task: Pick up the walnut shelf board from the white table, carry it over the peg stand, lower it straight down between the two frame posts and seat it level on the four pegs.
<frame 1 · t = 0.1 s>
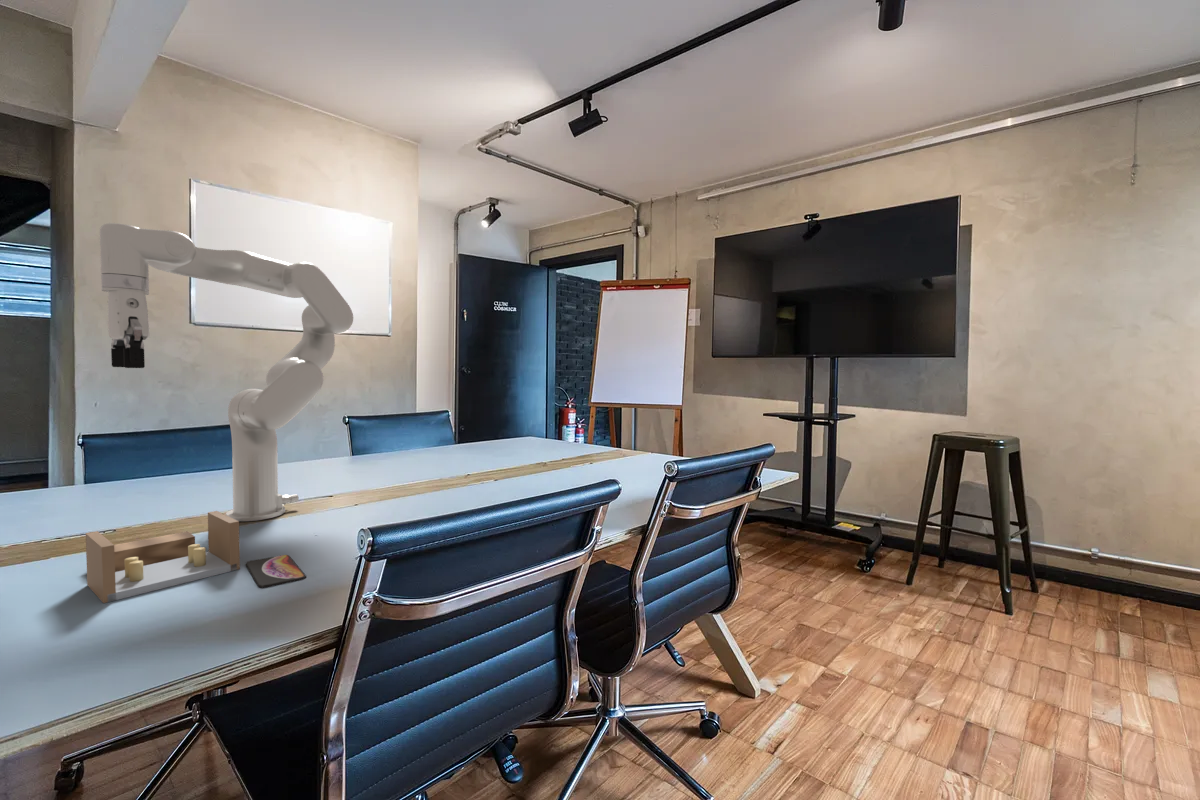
hand: (127, 367, 114), 37 cm above the table, tool pointing down, fingers open, 9 cm apart
smartphone: (275, 573, 100), on the table
peg stand: (167, 576, 96), on the table
shelf board: (147, 562, 103), on the table
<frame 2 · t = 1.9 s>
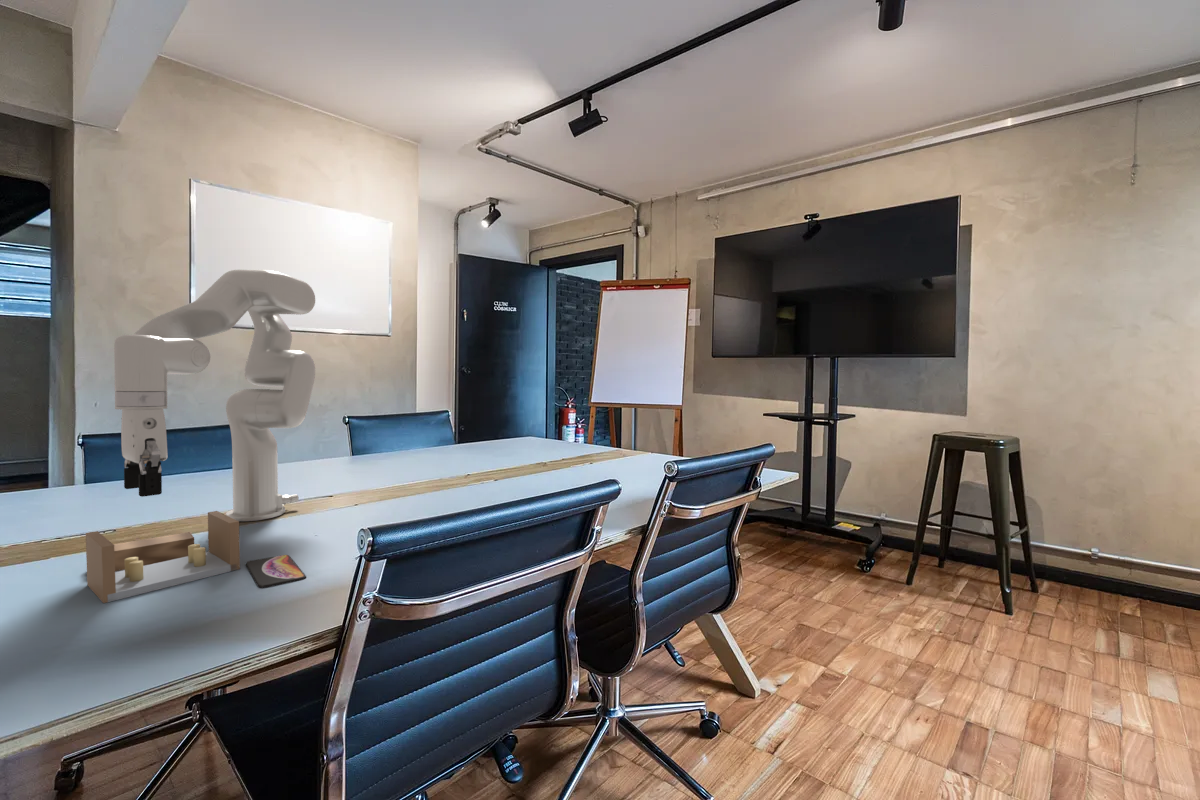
hand: (142, 491, 102), 14 cm above the table, tool pointing down, fingers open, 9 cm apart
nothing on the table moved.
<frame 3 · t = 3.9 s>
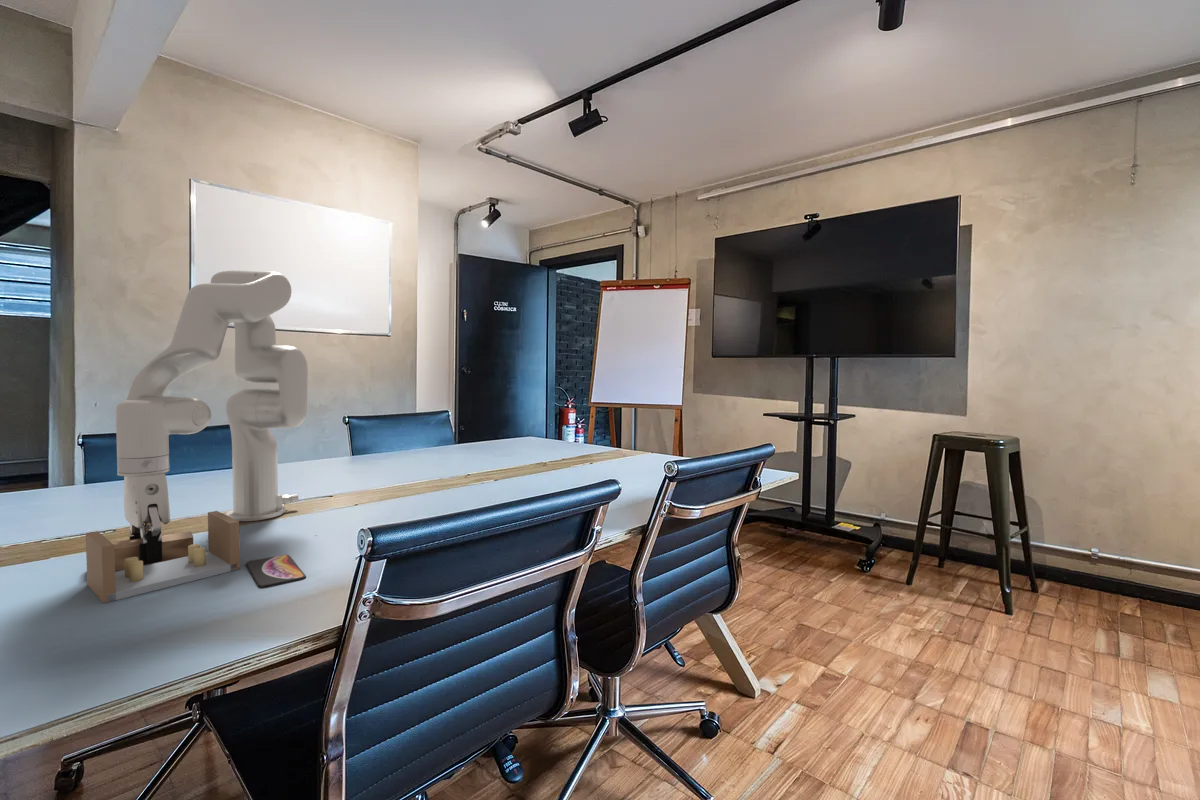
hand: (146, 557, 103), 1 cm above the table, tool pointing down, fingers closed on shelf board, 5 cm apart
shelf board: (146, 561, 103), on the table, touching gripper
everything else where it was.
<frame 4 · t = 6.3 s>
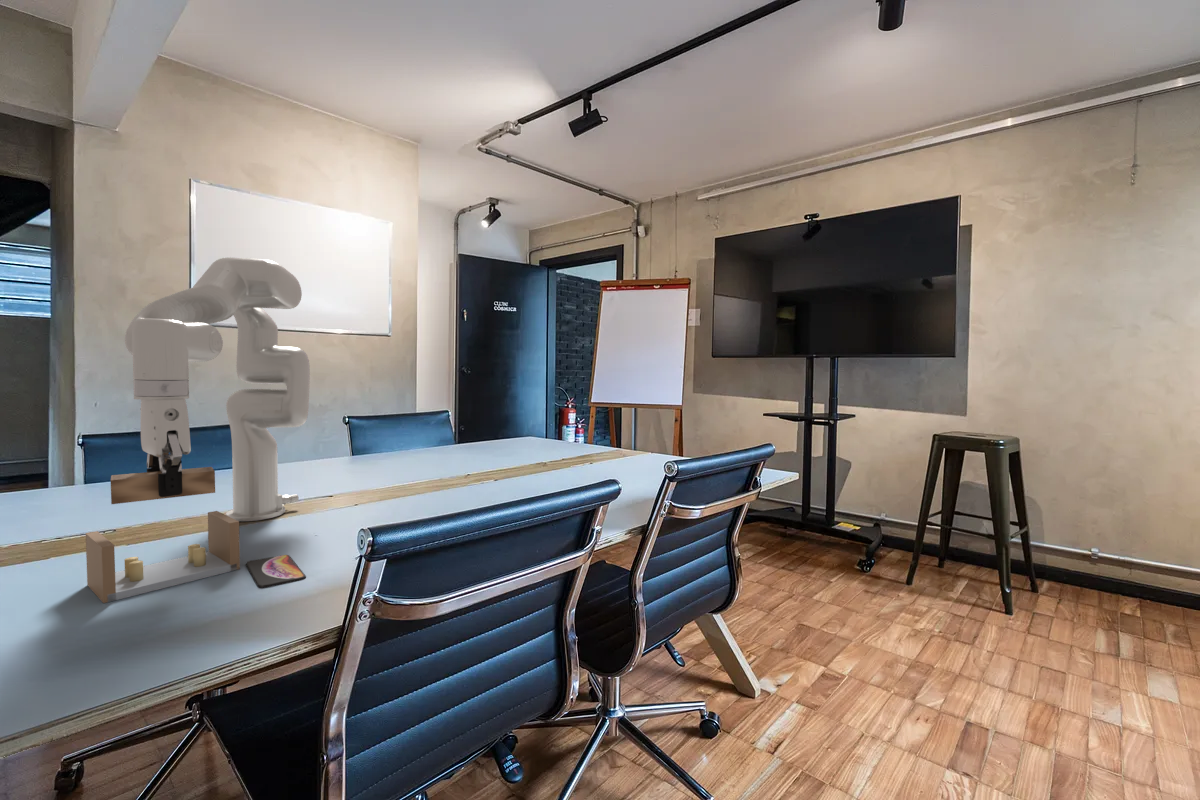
hand: (164, 491, 95), 15 cm above the table, tool pointing down, fingers closed on shelf board, 5 cm apart
shelf board: (165, 495, 95), point 15 cm above the table, touching gripper
everything else where it was.
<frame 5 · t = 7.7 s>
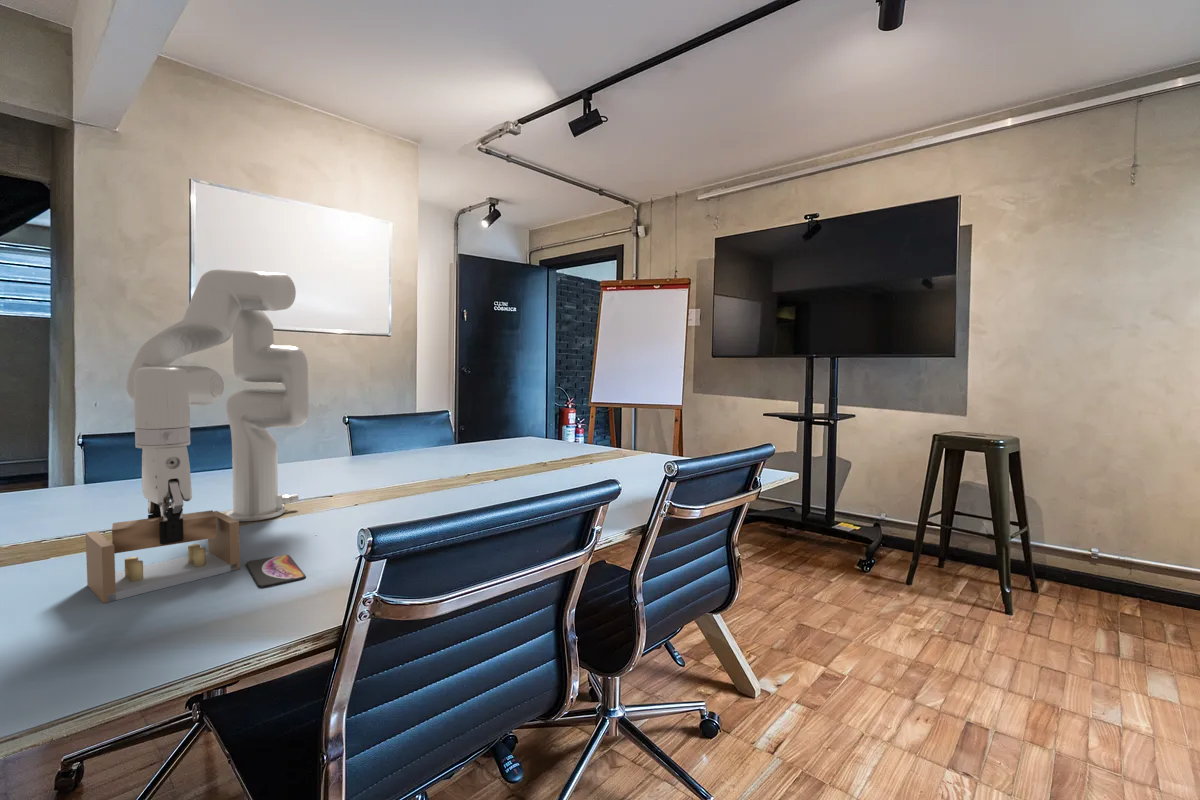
hand: (165, 537, 96), 7 cm above the table, tool pointing down, fingers closed on shelf board, 5 cm apart
shelf board: (166, 541, 96), point 6 cm above the table, touching gripper
everything else where it was.
when the fingers open (6 cm above the table, at t = 8.7 s): shelf board drops 1 cm, resting on peg stand.
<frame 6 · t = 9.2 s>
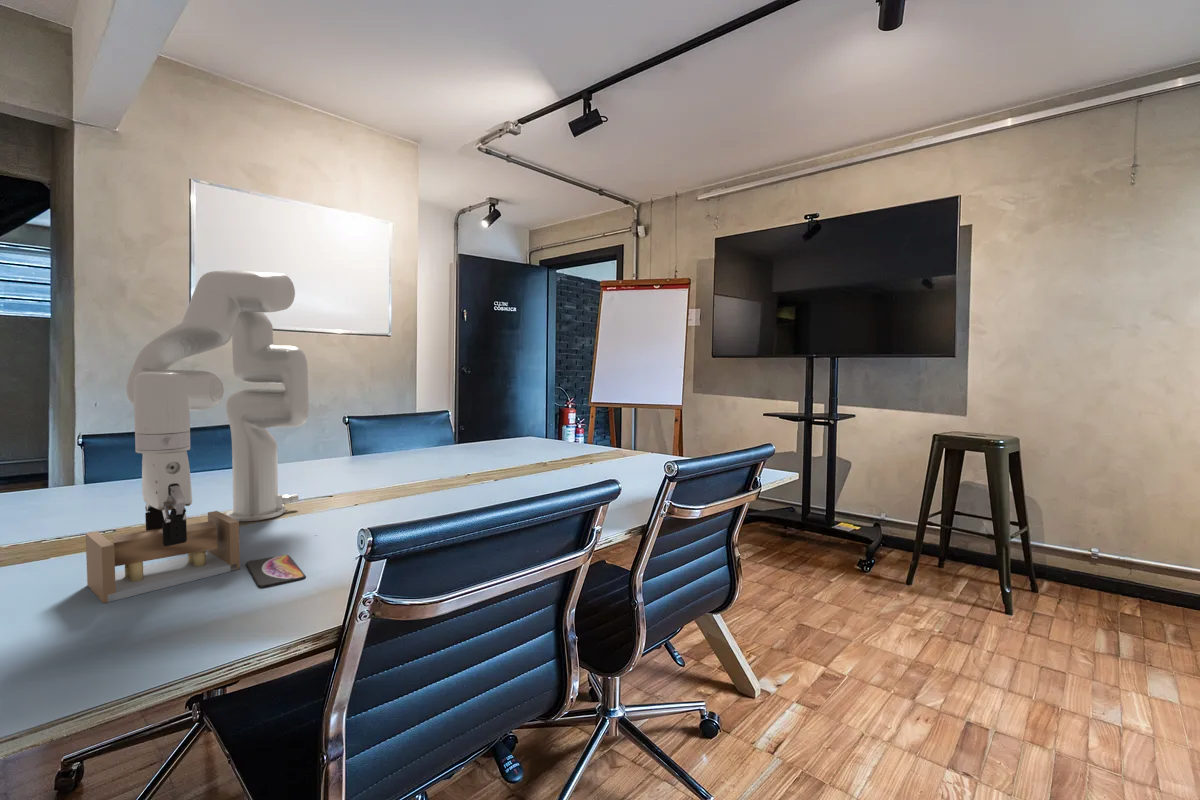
hand: (166, 538, 96), 7 cm above the table, tool pointing down, fingers open, 9 cm apart
shelf board: (167, 553, 96), point 4 cm above the table, touching peg stand
everything else where it was.
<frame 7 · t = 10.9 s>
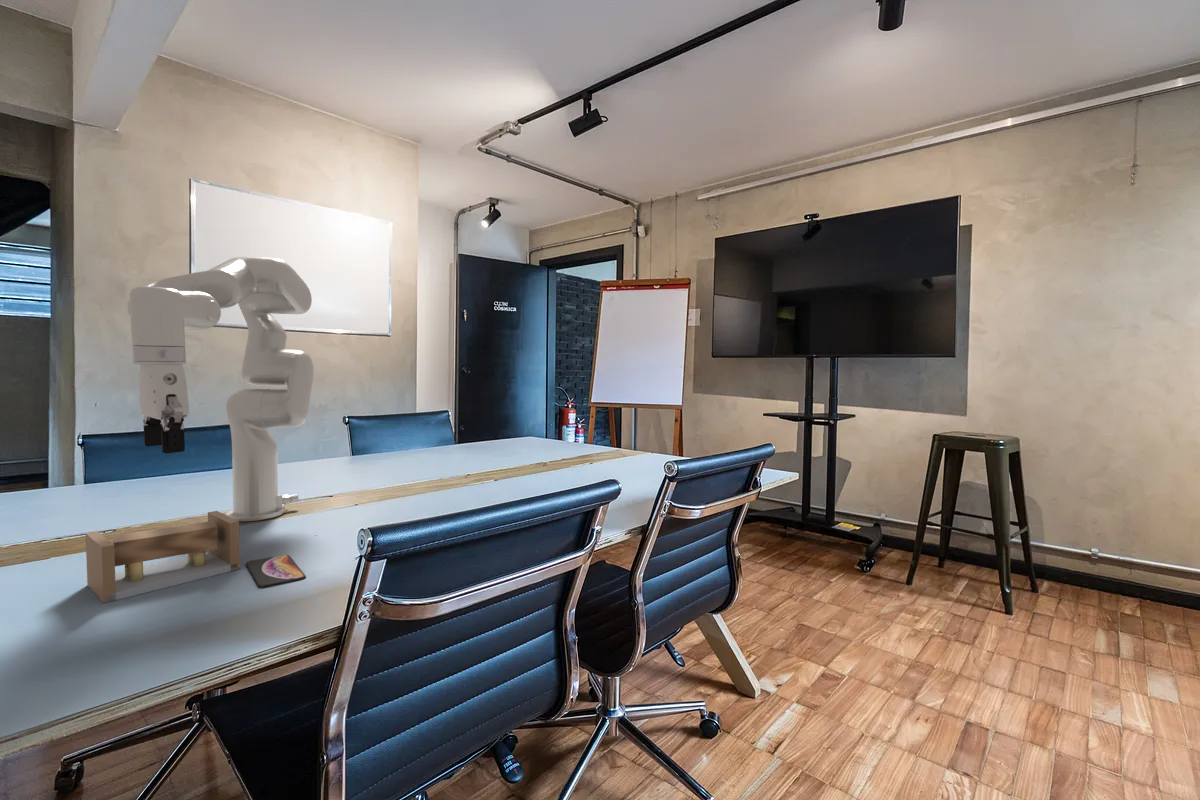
hand: (164, 448, 100), 22 cm above the table, tool pointing down, fingers open, 9 cm apart
nothing on the table moved.
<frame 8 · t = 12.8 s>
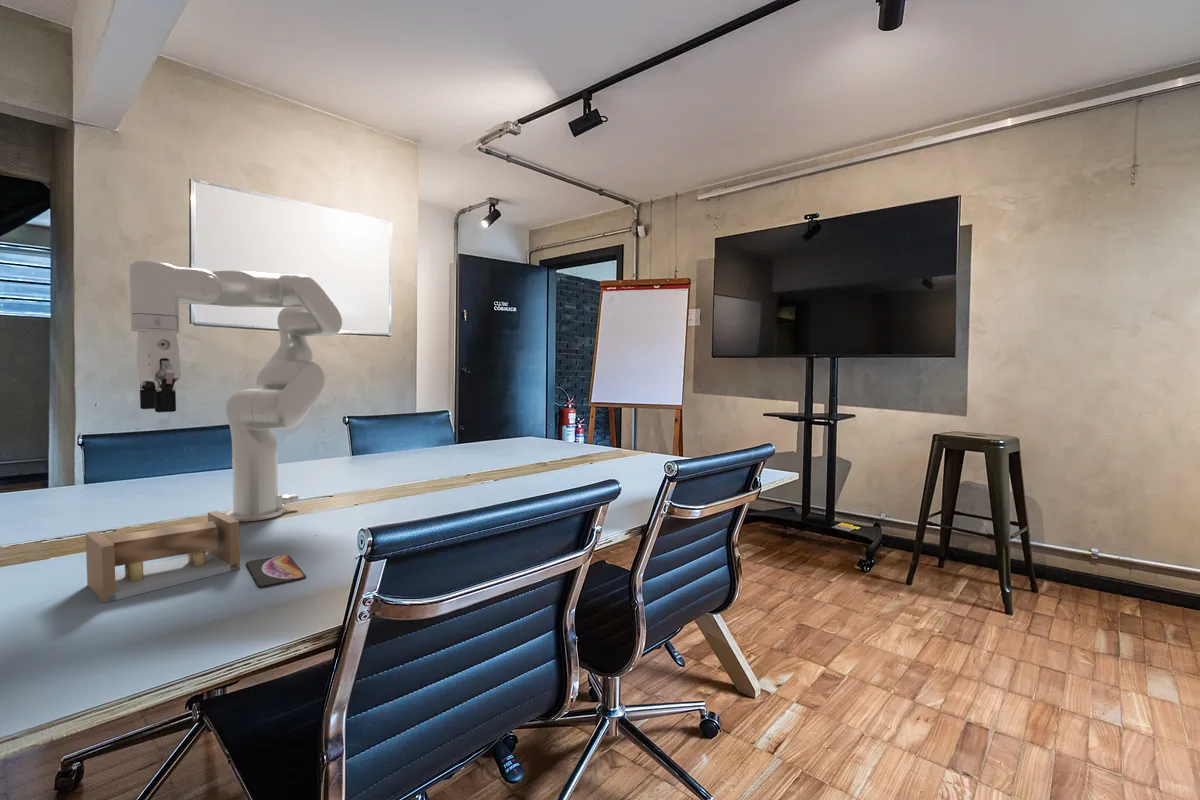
hand: (157, 410, 109), 28 cm above the table, tool pointing down, fingers open, 9 cm apart
nothing on the table moved.
at the end: shelf board 0.1 cm off-centre on the peg stand, point 4.2 cm above the peg stand's base; shelf board tilted 0°; the gripper is holding nothing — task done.
